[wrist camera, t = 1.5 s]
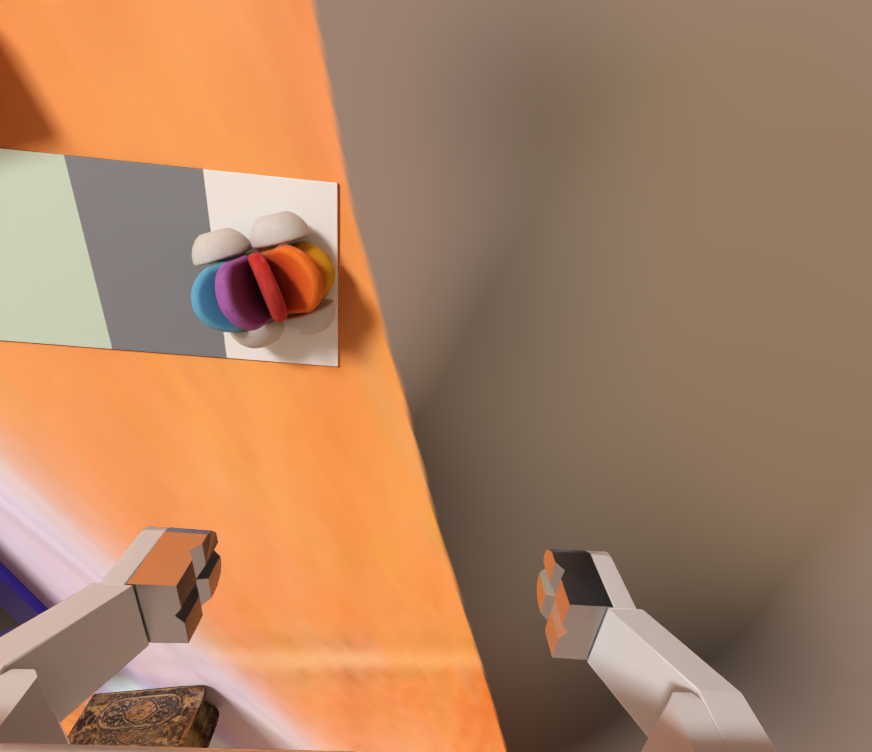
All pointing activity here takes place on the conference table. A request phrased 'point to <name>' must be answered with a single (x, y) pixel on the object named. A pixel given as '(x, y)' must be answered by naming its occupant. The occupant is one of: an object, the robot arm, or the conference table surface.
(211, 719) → the book
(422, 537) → the conference table surface
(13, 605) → the stapler
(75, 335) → the game mat
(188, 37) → the conference table surface
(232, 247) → the rainbow segmented toy
